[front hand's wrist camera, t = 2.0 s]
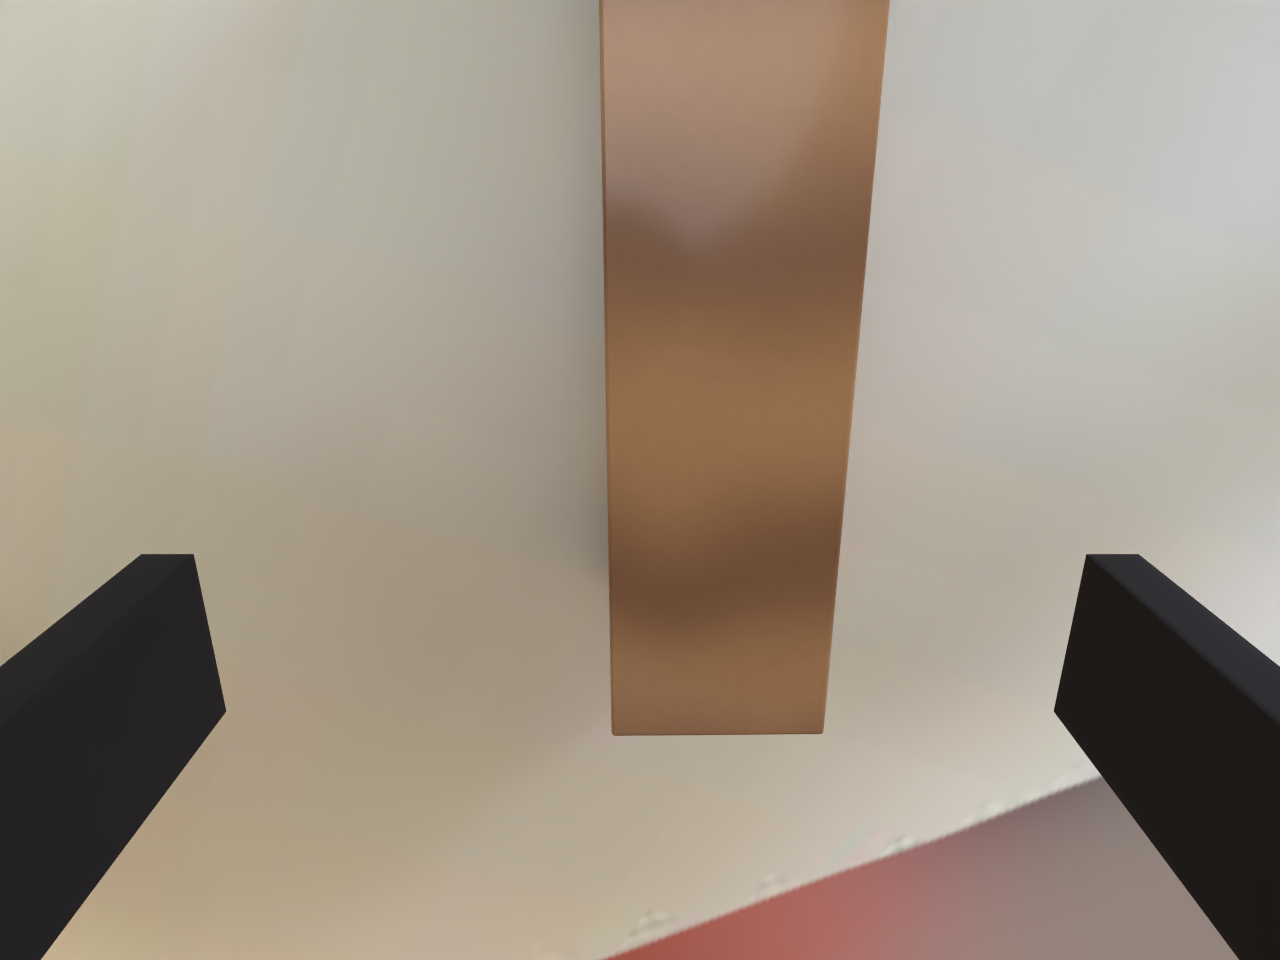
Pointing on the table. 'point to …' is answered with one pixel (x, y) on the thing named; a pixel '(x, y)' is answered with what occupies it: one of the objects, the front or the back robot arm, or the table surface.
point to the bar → (731, 348)
